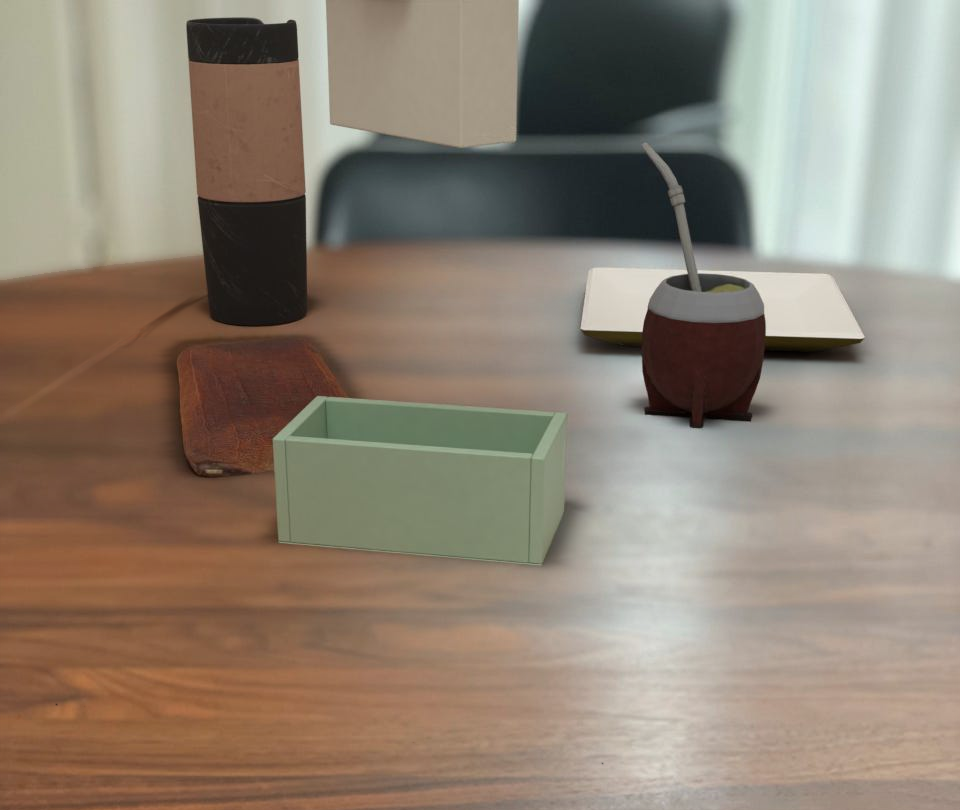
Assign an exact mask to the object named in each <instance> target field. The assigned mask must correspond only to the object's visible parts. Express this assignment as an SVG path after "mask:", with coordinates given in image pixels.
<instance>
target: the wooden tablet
mask: <svg viewBox="0 0 960 810" xmlns="http://www.w3.org/2000/svg"><path fill="white" fill-rule="evenodd" d="M176 369H177V375H178V385H179V407H180V408H179V413H180V423H181V432H182V433H181V434H182V445H183V451H184V456H185V458H186V460H187V461H188V464H189V465H190V467H191V468H192V470H193V472H194V473H195V474H197V475H198V476H199V477H204V478H215V477H233V476H234V477H235V476H245V475H246V476H247V475H254V474H261V473H266V472H274V455H273V438H274V437H275V436H276V435H277V434H278V433H279V432H280V431H281V430H282V429H283V428H285V427H286V426H287V425H288V424H289V423H290V422H291V421H292V420H293V419H294V418H295V417H296V416H297V415H298V414H299V413H300V412H301V411H302V410H303V409H304V408H305V407H306V406H307V405H308V404H309V403H310V402H311V401H313V400H314V399H315V398H316V397H317V396H325V397H340V398H349V396H348V394H346V392H345V390H344V389H343V388H342V386H341V385H340V383H339V381H338V380H337V379H336V377H335V376H334V374H333V373H332V371H331V370H330V369H329V367H328V365H327V364H326V363H325V362H324V359H323V358H322V356H321V355H320V354H319V353H318V351H317V350H316V349H315V348H314V347H313V346H312V344H311V343H309V342H308V341H307V340H305V339H303V338H300V337H280V338H270V339H263V340H262V339H261V340H248V341H246V340H245V341H239V342H232V343H229V342H228V343H215V344H214V343H212V344H207V345H206V344H205V345H198V346H191V347H188V348H185V349H184V350H183V351H181V353H179V354H178V357H177V359H176Z"/></svg>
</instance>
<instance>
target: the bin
mask: <svg viewBox="0 0 960 810" xmlns="http://www.w3.org/2000/svg"><path fill="white" fill-rule="evenodd" d="M567 436H568V413H567V412H559V411H557V412H554V411H547V410H546V411H544V410H530V409H515V408H499V407H486V406H473V405H457V404H456V405H455V404H441V403H427V402H411V401H397V400H383V399H382V400H381V399H369V398H368V399H367V398H354V397H348V398H340V397H325V396H317V397H316V398H315V399H314V400H313V401H311V402H310V403H309V404H308V405H307V406H306V407H305V408H304V409H303V410H302V411H301V412H300V413H299V414H298V415H297V416H296V417H295V418H294V419H293V420H292V421H291V422H290V423H289V424H288V425H287V426H286V427H285V428H283V429H282V430H281V431H280V432H279V433H278V434H277V435H276V436H275V437H274V438H273V455H274V471H273V472H274V487H275V488H274V489H275V506H276V507H275V508H276V521H277V522H276V523H277V539H278V543H279V544H286V545H287V544H289V545H299V546H300V545H301V546H312V547H323V548H334V549H347V550H355V551H356V550H357V551H358V550H359V551H369V552H379V553H380V552H381V553H393V554H403V555H416V556H427V557H439V558H449V559H461V560H462V559H463V560H473V561H485V562H497V563H508V564H519V565H520V564H521V565H531V566H542V565H543V563H544V561H545V559H546V556H547V553H548V552H549V549H550V547H551V544H552V542H553V539H554V537H555V535H556V532H557V530H558V528H559V525H560V524H561V521H562V518H563V516H564V514H565V500H566V499H565V498H566V471H567V469H566V466H567V441H568V439H567Z"/></svg>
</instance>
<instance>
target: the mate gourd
mask: <svg viewBox="0 0 960 810" xmlns="http://www.w3.org/2000/svg"><path fill="white" fill-rule="evenodd" d="M641 148H642V149H643V151H644V152H645V153H646V154H647V156H648V158H649V159H650V160H651V161H652V163H653V164H654V165H655V167H656V168H657V170H658V171H659V172H660V174H661V175H662V177H663V179H664V181H665V182H666V184H667V187H668V190H667V194H668V197H669V200H670V204H671V207H673V209H674V213H675V218H676V223H677V228H678V234H679V238H680V243H681V248H682V254H683V258H684V263H685V264H684V265H685V268H686V270H687V273H688V274H682V275H676V276H671V277H669V278H666V279H664V280H663V281H662V282H661V283H660V284H659V286H658V287H657V288H656V290H655V291H654V293H653V294H652V296H651V298H650V300H649V303H648V310H647V313H646V316H645V319H644V324H643V331H642V347H641V367H642V368H641V371H642V377H643V381H644V386H645V390H646V395H647V399H648V406H645V407H644V408H643V411H644V412H643V413H644V415H645V416H658V417H659V416H661V417H672V418H673V417H674V418H687V419H689V428H691V429H703V428H704V423H705V420H718V421H731V422H733V421H734V422H748V423H751V422H752V418H753V414H754V413H752V412H749V409H750V406H751V403H752V401H753V398H754V396H755V393H756V390H757V388H758V386H759V383H760V379H761V375H762V369H763V364H764V355H765V350H764V349H765V343H766V321H765V315H764V303H763V301H762V299H761V297H760V294H759V293H758V291H757V289H756V288H755V286H754V285H753V284H752V283H751V282H749V281H747V280H746V279H742V278H739V277H735V276H728V275H721V274H704V273H697V270H698V269H697V265H696V259H695V255H694V250H693V245H692V239H691V234H690V229H689V224H688V219H687V214H686V213H687V212H686V208H685V203H686V198H685V194H684V190H683V187H682V185H679V183H678V179H677V178H676V176H675V174H674V173H673V172H672V169H671V168H670V167H669V165H668V164H667V163H666V162H665V161H664V159H663V158H662V157H661V156H660V155H659V154H658V153H657V152H656V151H655V149H653V147H652V146H651V145H650V144H649V143H648V142H645V141H644V142H643V143H641Z"/></svg>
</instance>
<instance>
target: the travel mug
mask: <svg viewBox="0 0 960 810" xmlns="http://www.w3.org/2000/svg"><path fill="white" fill-rule="evenodd" d="M185 25H186V27H185V28H186V29H185V30H186V42H187V43H186V44H187V58H188V73H189V74H188V75H189V76H188V77H189V90H190V104H191V119H192V120H191V121H192V136H193V137H192V138H193V150H194V151H193V152H194V165H195V166H194V167H195V183H196V184H195V185H196V194H197V205H198V207H197V208H198V215H199V216H198V217H199V224H200V225H199V227H200V234H201V235H200V236H201V244H202V254H203V265H204V272H205V273H204V274H205V282H206V283H205V284H206V292H207V300H208V309H209V315H210V317H211V319H213V320H214V321H217V322H219V323H221V324H228V325H232V326H233V325H234V326H245V327H246V326H248V327H249V326H250V327H256V326H257V327H259V326H272V325H273V326H275V325H282V324H287V323H291V322H295V321H298V320H301V319H302V318H304V317H306V315H307V312H308V258H307V257H308V256H307V255H308V254H307V250H308V249H307V248H308V247H307V196H306V192H307V190H306V189H307V187H306V172H305V153H304V134H303V115H302V98H301V97H302V96H301V78H300V77H301V76H300V59H299V58H300V57H299V39H298V37H299V36H298V24H297V21H296V20H295V19H288V20H287V21H286V22H278V23H264V22H263V21H262V20H261V19H259V18H255V17H248V16H247V17H235V16H233V17H208V18H207V17H206V18H195V19H188V20H187V21H186V24H185Z"/></svg>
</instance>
